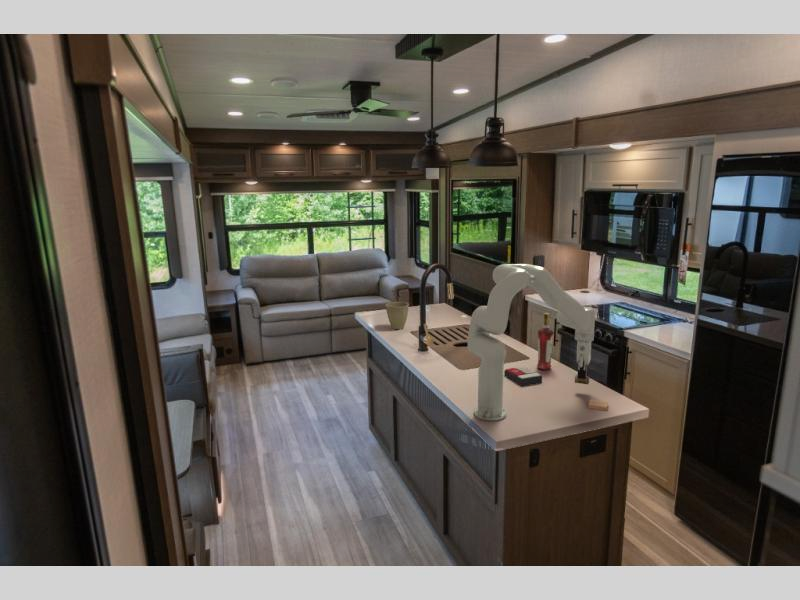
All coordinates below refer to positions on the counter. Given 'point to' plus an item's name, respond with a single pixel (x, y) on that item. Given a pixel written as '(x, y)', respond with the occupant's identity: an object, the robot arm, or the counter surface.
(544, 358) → the liquor
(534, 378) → the calculator
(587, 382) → the tan stepped block
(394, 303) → the plant pot
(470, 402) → the counter surface
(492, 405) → the robot arm
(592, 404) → the tile
